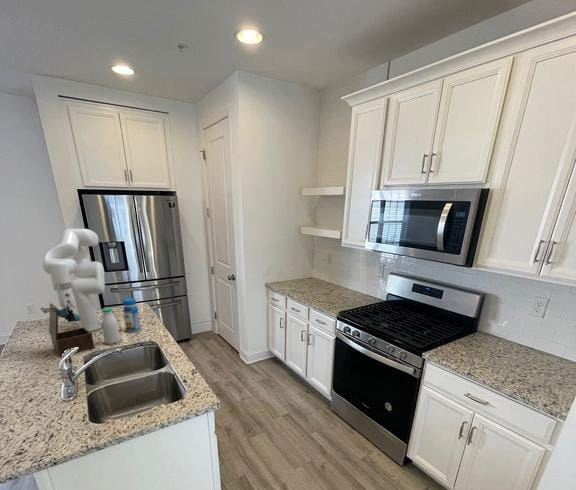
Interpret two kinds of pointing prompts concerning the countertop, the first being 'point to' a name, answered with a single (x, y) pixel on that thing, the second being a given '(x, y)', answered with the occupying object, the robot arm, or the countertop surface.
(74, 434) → the countertop surface
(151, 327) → the countertop surface
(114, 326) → the milk bottle
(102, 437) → the countertop surface
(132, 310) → the beverage bottle
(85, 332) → the bin
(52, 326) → the bin lid
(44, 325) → the countertop surface
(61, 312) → the teal cylinder
